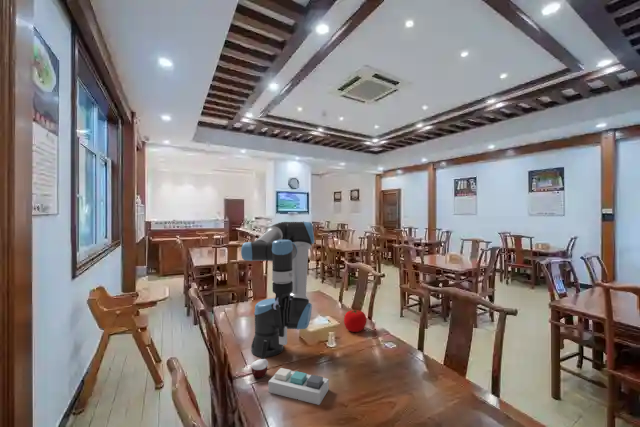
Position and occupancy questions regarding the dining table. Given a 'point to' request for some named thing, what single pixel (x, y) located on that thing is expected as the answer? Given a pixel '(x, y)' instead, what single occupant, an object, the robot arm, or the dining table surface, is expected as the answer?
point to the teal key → (299, 378)
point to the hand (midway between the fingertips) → (283, 343)
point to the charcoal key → (315, 382)
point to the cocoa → (260, 364)
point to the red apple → (355, 320)
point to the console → (298, 390)
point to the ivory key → (283, 374)
